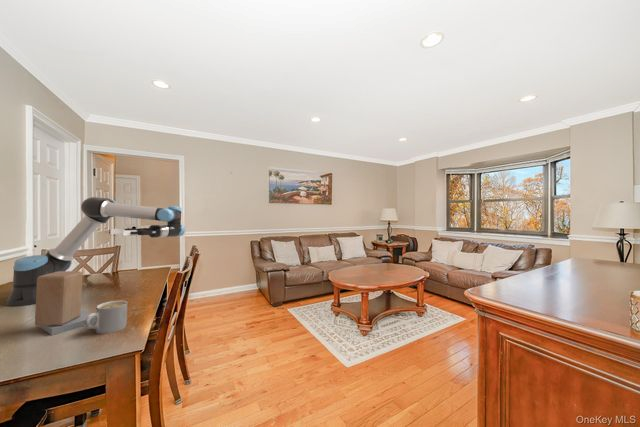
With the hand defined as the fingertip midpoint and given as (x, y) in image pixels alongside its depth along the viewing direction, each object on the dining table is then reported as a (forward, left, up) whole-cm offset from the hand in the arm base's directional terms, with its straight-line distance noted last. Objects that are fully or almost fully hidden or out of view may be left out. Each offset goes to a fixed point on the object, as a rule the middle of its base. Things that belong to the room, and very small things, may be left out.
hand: (116, 232), depth 133 cm
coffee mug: (+33, -16, -38) cm, 53 cm away
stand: (+15, -22, -38) cm, 46 cm away
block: (+15, -25, -36) cm, 46 cm away
